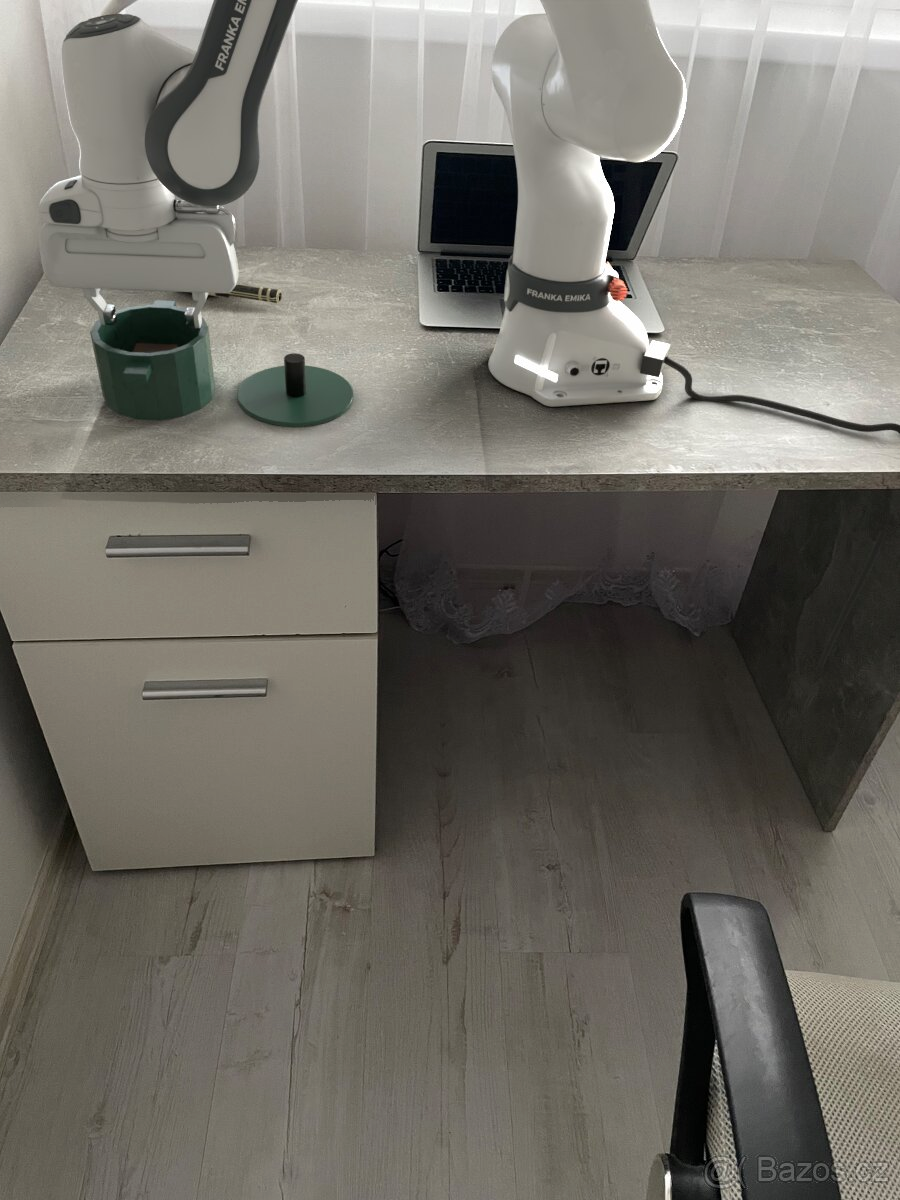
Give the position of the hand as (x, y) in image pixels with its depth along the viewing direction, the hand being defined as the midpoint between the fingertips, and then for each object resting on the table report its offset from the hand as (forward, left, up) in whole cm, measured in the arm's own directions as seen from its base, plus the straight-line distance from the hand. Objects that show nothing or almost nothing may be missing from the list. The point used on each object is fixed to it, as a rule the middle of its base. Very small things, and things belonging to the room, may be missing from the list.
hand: (152, 324), depth 106 cm
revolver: (-3, -32, -9) cm, 33 cm away
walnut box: (0, 0, -8) cm, 8 cm away
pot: (0, 0, -9) cm, 9 cm away
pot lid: (-16, 0, -8) cm, 18 cm away
